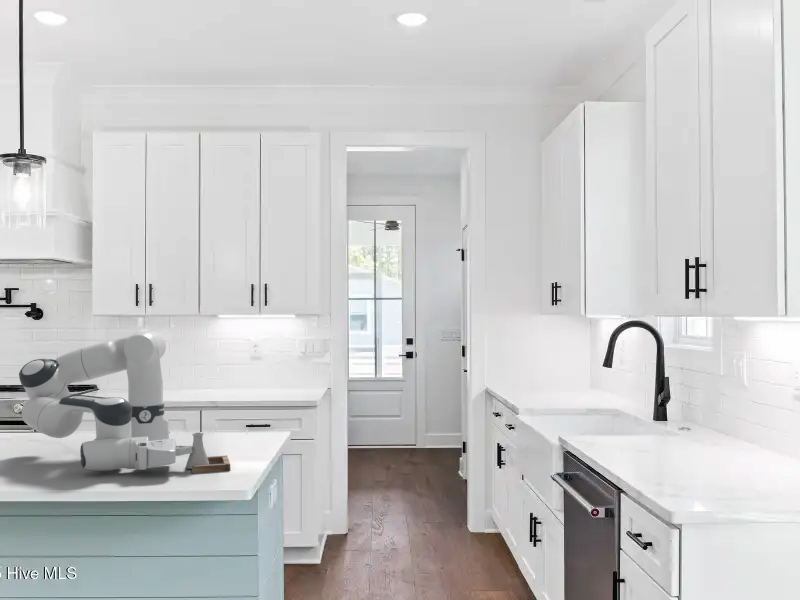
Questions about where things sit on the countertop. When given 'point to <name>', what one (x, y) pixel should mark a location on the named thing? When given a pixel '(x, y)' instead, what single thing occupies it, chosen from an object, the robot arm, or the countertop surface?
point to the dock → (213, 465)
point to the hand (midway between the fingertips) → (192, 449)
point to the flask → (197, 452)
